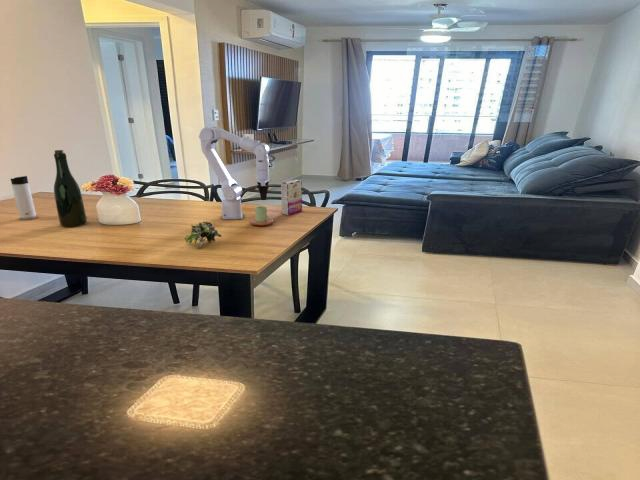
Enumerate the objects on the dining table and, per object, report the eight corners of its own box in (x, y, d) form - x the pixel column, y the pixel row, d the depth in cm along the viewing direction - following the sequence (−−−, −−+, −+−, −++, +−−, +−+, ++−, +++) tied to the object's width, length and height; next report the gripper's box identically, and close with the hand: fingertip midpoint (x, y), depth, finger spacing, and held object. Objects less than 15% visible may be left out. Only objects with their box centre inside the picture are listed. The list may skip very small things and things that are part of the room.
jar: (255, 221, 175) (255, 209, 173) (255, 218, 180) (255, 206, 178) (267, 221, 176) (266, 208, 174) (266, 218, 180) (266, 206, 178)
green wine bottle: (57, 224, 172) (41, 149, 162) (83, 219, 180) (69, 148, 169) (63, 229, 165) (47, 151, 155) (90, 224, 173) (76, 150, 162)
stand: (249, 227, 172) (249, 223, 172) (249, 220, 182) (249, 217, 182) (273, 226, 174) (273, 223, 173) (272, 220, 184) (272, 216, 184)
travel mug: (31, 220, 178) (20, 177, 171) (17, 219, 178) (6, 177, 171) (40, 216, 184) (30, 175, 177) (27, 216, 184) (16, 174, 177)
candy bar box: (295, 209, 204) (295, 179, 199) (302, 211, 201) (302, 180, 196) (281, 213, 196) (280, 182, 190) (288, 215, 193) (287, 183, 187)
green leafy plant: (210, 254, 155) (226, 231, 153) (200, 259, 144) (217, 234, 142) (187, 238, 154) (203, 214, 152) (175, 242, 144) (193, 216, 142)
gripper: (271, 172, 172) (272, 201, 176) (270, 167, 186) (271, 194, 190) (255, 172, 171) (257, 201, 175) (256, 167, 185) (257, 195, 189)
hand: (263, 198), depth 183 cm, fingers open, 7 cm apart
